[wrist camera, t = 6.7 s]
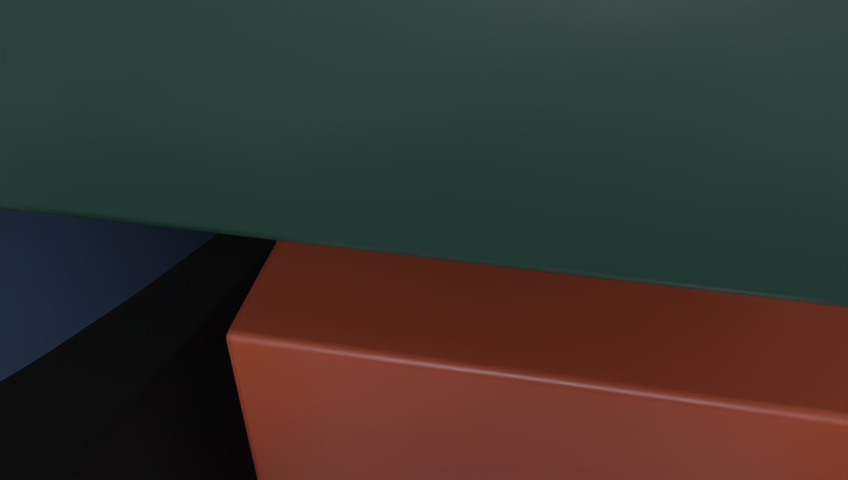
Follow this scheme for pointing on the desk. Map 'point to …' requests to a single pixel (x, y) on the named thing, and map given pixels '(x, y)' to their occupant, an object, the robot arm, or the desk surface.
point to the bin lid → (451, 130)
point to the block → (529, 375)
